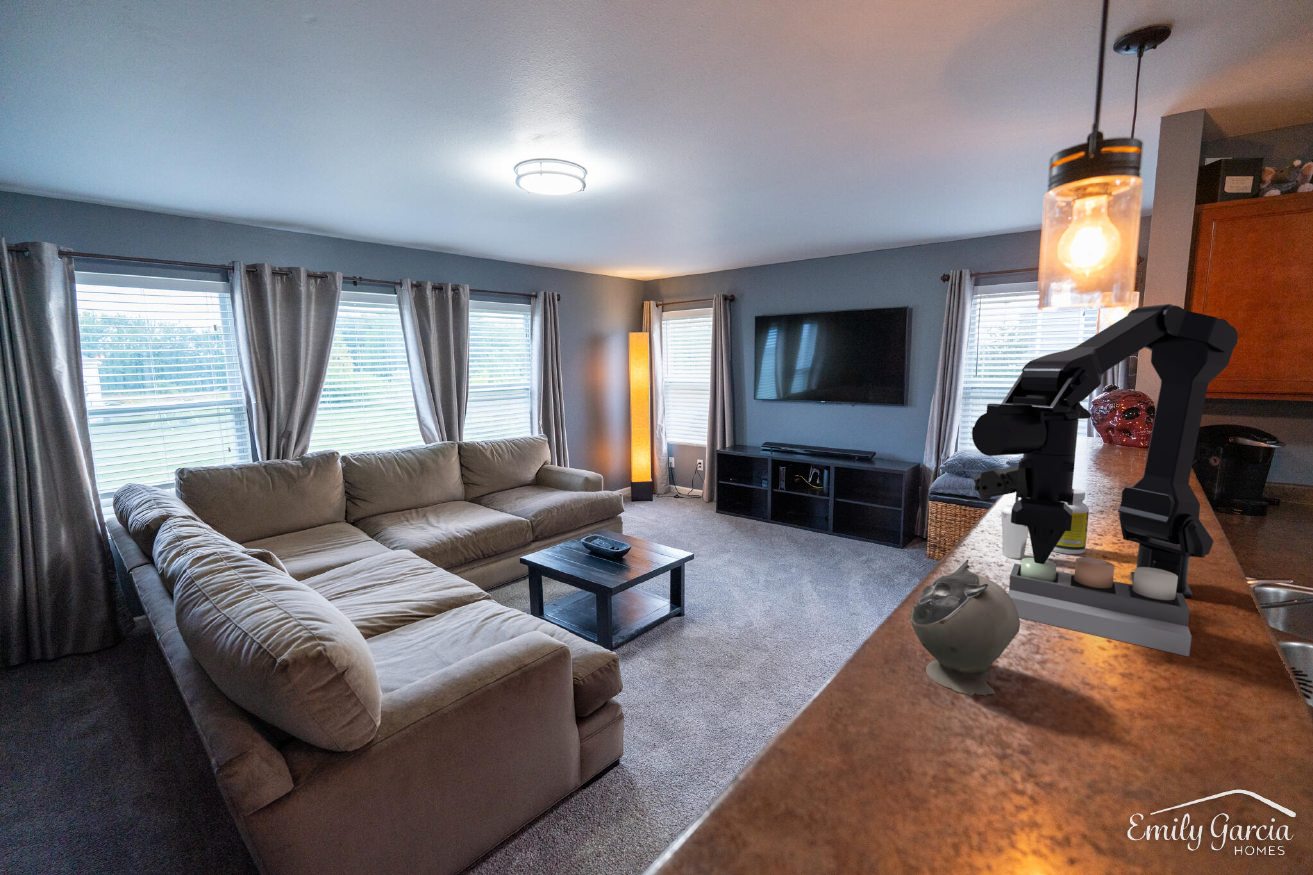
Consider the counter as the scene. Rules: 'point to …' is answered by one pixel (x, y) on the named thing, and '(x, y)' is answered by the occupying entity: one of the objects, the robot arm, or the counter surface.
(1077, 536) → the pill bottle
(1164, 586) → the button ivory
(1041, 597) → the button panel
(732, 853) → the counter surface
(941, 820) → the counter surface
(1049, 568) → the button sage
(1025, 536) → the milkshake
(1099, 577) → the button terracotta
